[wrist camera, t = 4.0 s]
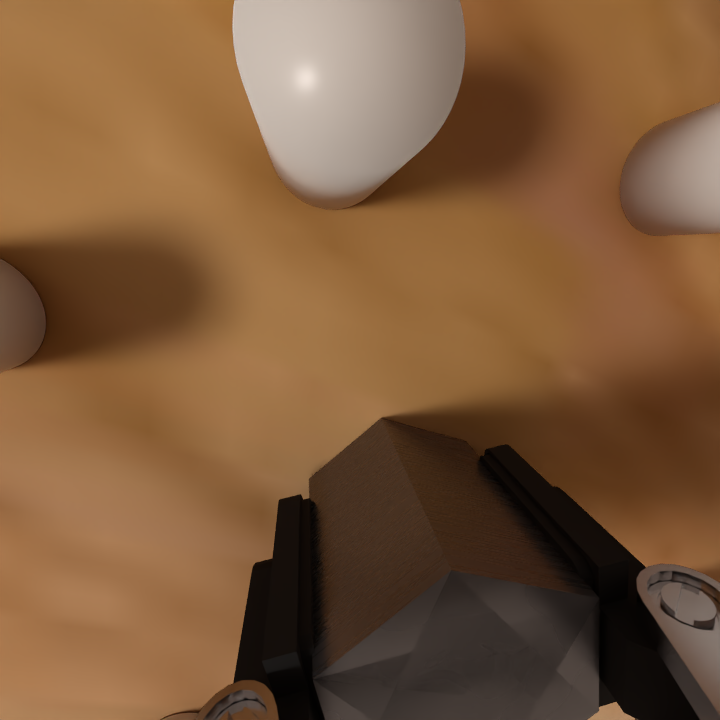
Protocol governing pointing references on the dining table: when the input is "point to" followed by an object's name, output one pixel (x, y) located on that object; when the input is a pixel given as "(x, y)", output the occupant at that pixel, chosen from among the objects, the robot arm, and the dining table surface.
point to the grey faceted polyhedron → (441, 591)
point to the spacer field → (390, 124)
